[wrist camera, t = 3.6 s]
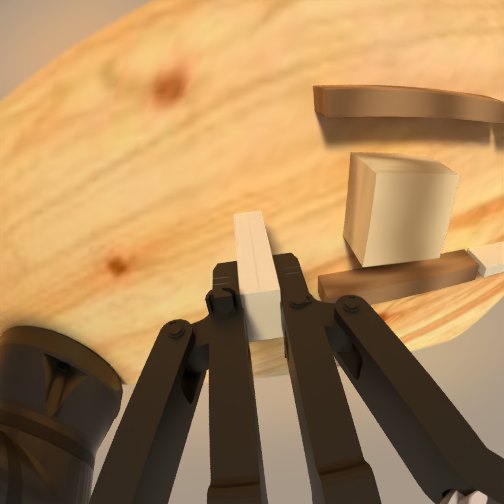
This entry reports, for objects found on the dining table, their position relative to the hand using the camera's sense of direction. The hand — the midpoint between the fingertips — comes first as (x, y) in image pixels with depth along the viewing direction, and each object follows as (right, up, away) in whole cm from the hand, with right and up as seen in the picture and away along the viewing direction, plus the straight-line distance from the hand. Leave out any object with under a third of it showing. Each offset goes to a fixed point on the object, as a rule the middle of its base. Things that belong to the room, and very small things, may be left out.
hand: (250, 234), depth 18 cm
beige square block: (+9, +3, +3) cm, 10 cm away
